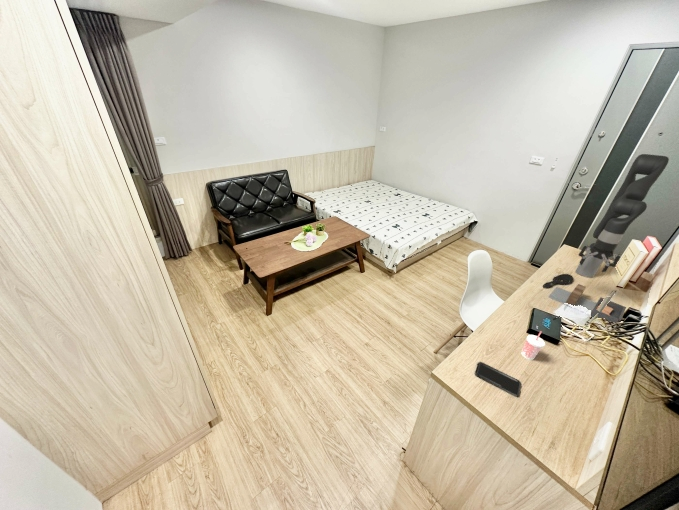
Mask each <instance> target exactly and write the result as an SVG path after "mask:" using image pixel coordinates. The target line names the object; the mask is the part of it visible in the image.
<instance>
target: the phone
mask: <svg viewBox="0 0 679 510" xmlns="http://www.w3.org/2000/svg"><path fill="white" fill-rule="evenodd" d="M474 376H475V377H476V378H478V379H480V380H483V381H484V382H486V383H488V384H490V385H491V386H494V387H496V388H497V389H500V390H501V391H503V392H505V393H507V394H509V395H510V396H512V397H514V398H518V397H519V396H520V394H521V393H520V392H521V388H522V382H521V381H520V380H519V379H517V378H515V377H513V376H511V375H509V374H508V373H505V372H503V371H501V370H499V369H497V368H495V367H493V366H491V365H489V364H486V363H485V362H483V361H478V363H477V365H476V368H475V371H474Z"/></svg>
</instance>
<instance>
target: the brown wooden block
mask: <svg viewBox="0 0 679 510" xmlns="http://www.w3.org/2000/svg"><path fill="white" fill-rule="evenodd" d="M586 288H587V286H585V285H582V284H580V283H577V284H576V286H575V287H574V289H573V290H572V291H571V294H570V296H569V298H568V299H567V301H566V303H569V304H571V305H573V306H574V305H575V303H576V302H577V300H578V299H579V298H580V296H581V297H582V295H583V293H584V291H585V290H586Z"/></svg>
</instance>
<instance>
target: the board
mask: <svg viewBox="0 0 679 510" xmlns="http://www.w3.org/2000/svg"><path fill="white" fill-rule="evenodd" d="M571 293H572V291H569V290H566V289H563V288H561V287H559V286H556V287H555V288H554V289H553V291H551V293H549V296H548V298H550V299H552V300H554V301H556V302H558V303H561V304H563V305H565V304H564V303H566V301H567V299H568V298H569V296H570V294H571ZM568 304H569V303H568ZM596 304H597V302H595V301H593V300H591V299H588V298H586V297H584V296H582V295H581V296H580V298H579V299H578V300H577V302H576V303H575V306H578V305H579V306H580V305H581V306H583V307H586V308H587V309H588V310H591V312H592V310H593V309H594V307H595V305H596Z"/></svg>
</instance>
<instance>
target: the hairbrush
mask: <svg viewBox="0 0 679 510" xmlns="http://www.w3.org/2000/svg"><path fill="white" fill-rule="evenodd" d="M573 282H574V277H573V275H572V274H569V272H567V273H561V274H557V275H555V276H553V278H552V280H551V281H547V282H545V283H544V284H543V285H542V288H543V289H550V288H551V287H553V286H554V285H555V284H557V285H559V286H560V285H561V286H569V285H571V284H572V283H573Z"/></svg>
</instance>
